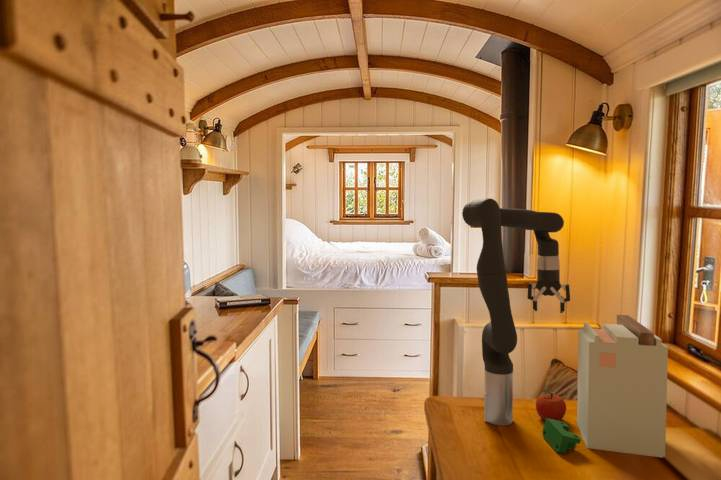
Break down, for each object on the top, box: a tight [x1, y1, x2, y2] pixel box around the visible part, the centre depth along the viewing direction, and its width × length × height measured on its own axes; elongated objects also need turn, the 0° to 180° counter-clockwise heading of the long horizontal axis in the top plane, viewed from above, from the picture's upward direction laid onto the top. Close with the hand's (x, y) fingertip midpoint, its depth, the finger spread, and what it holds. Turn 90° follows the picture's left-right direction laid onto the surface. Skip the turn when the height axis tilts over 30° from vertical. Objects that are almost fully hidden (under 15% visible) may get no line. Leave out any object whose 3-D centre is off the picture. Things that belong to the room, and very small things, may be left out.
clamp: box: [541, 418, 582, 454], centre depth 131 cm, size 12×6×9 cm, turn 175°
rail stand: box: [576, 322, 669, 459], centre depth 133 cm, size 20×16×34 cm
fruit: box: [535, 389, 567, 421], centre depth 148 cm, size 10×10×10 cm
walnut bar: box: [616, 314, 655, 346], centre depth 135 cm, size 4×24×4 cm, turn 163°
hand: (548, 311), depth 159 cm, fingers open, 8 cm apart
